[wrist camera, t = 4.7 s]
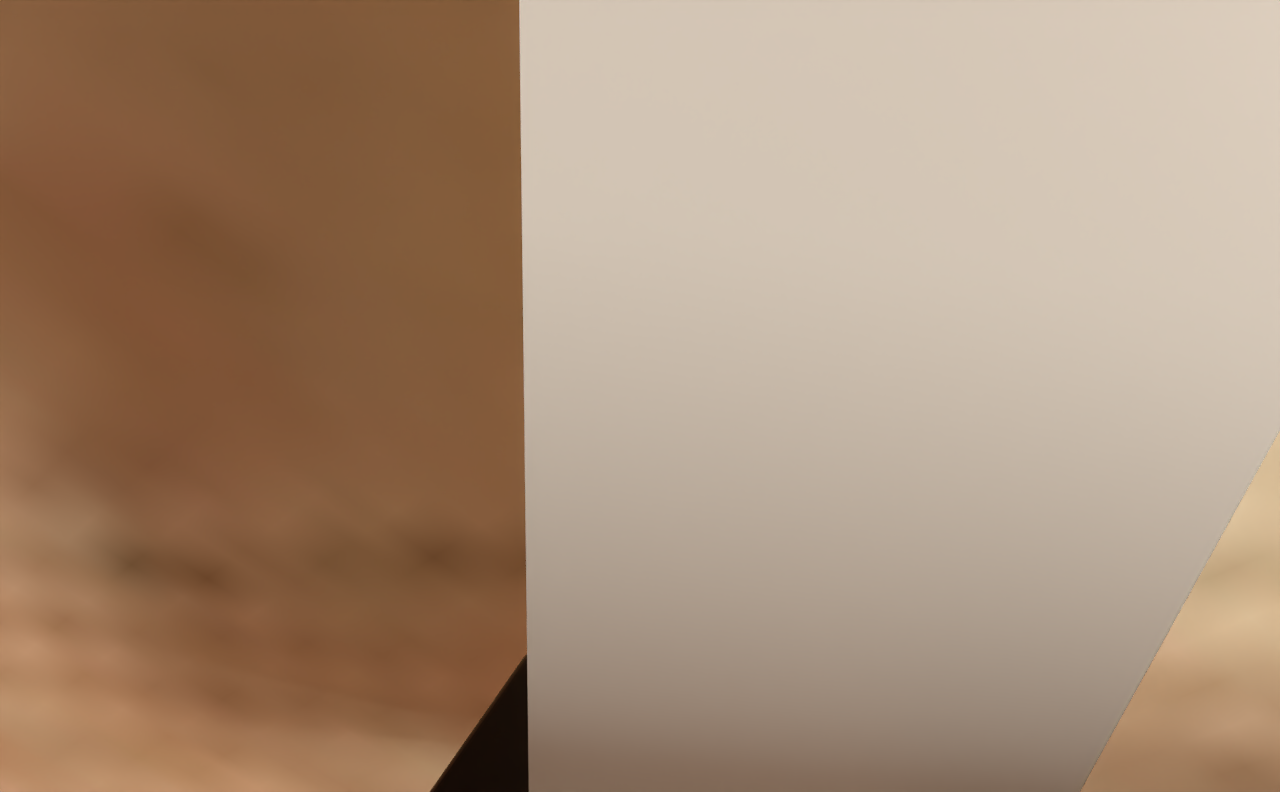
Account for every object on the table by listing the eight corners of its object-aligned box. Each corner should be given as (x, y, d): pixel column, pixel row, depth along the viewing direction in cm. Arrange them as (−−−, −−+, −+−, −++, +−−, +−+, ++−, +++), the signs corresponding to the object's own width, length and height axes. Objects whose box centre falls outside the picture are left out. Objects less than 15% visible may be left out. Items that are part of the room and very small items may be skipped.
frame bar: (779, 955, 15) (791, 1311, 12) (575, 935, 15) (535, 1284, 12) (1193, -449, 6) (1818, -542, 2) (636, -489, 6) (511, -634, 2)
